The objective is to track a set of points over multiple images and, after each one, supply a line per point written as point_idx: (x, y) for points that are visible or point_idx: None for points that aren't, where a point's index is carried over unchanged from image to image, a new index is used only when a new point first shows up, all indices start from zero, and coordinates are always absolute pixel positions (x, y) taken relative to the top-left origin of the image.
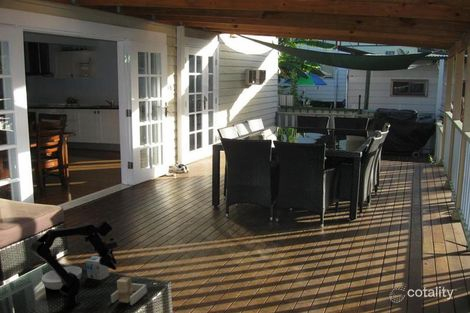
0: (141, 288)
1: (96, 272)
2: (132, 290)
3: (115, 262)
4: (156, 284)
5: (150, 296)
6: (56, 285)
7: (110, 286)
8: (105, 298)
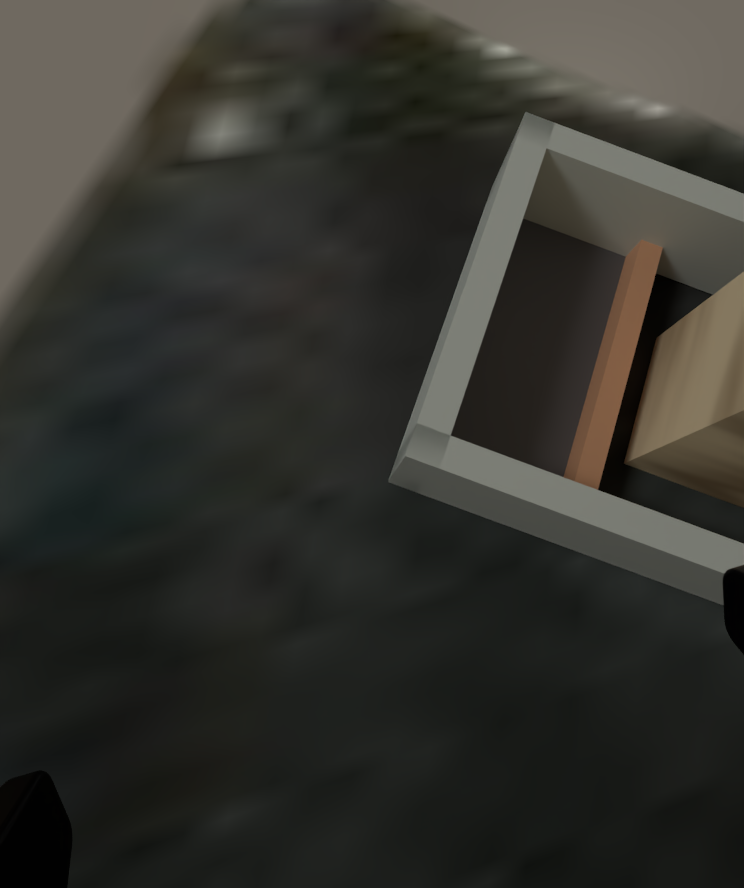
0: (649, 168)
1: None
2: (728, 285)
3: (40, 831)
4: (273, 106)
5: (617, 137)
6: None
7: (196, 854)
8: (648, 784)
